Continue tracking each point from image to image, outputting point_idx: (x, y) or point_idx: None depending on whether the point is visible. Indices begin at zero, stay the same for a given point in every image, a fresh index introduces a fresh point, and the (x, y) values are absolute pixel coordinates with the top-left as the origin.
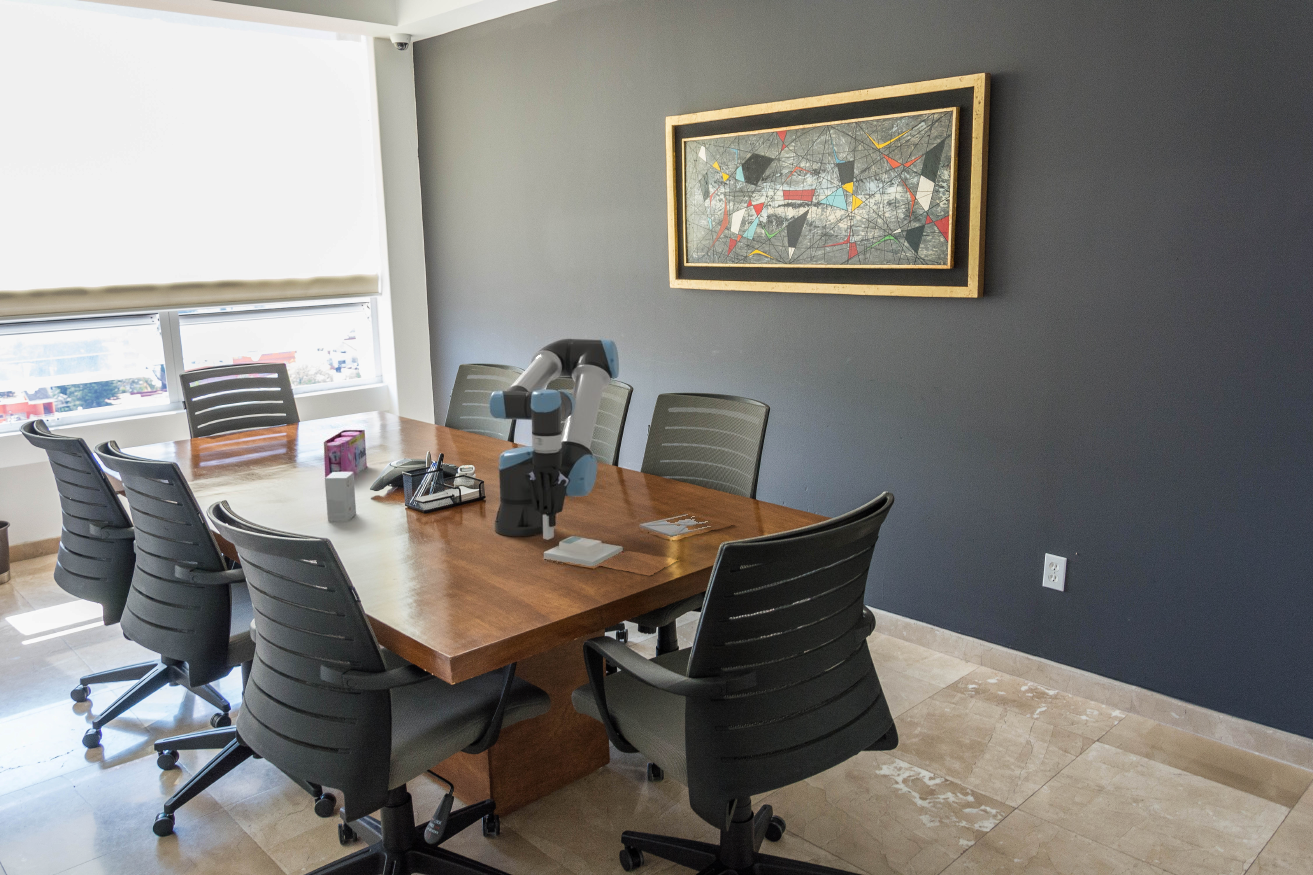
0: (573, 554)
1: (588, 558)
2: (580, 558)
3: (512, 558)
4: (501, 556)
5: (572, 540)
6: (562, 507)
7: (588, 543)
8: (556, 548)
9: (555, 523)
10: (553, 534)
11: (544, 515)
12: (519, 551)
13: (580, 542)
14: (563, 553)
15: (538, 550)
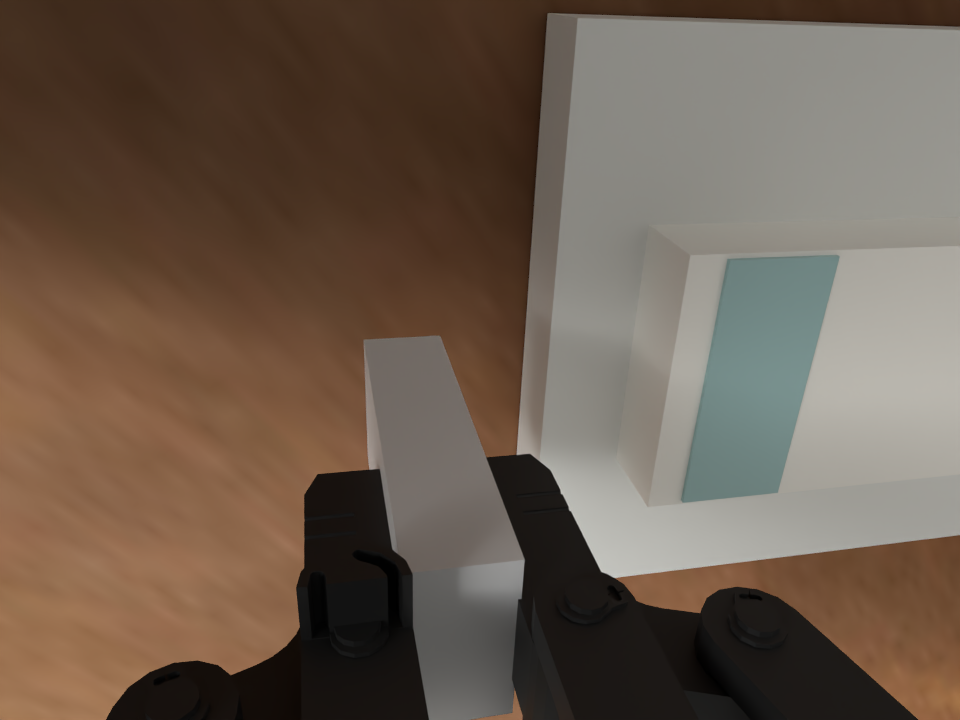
0: (799, 491)
1: (947, 497)
2: (886, 529)
3: (249, 650)
4: (122, 670)
5: (770, 409)
6: (853, 677)
7: (957, 383)
8: (577, 454)
9: (553, 485)
10: (444, 356)
11: (445, 717)
12: (145, 504)
13: (868, 402)
14: (706, 518)
15: (291, 383)
